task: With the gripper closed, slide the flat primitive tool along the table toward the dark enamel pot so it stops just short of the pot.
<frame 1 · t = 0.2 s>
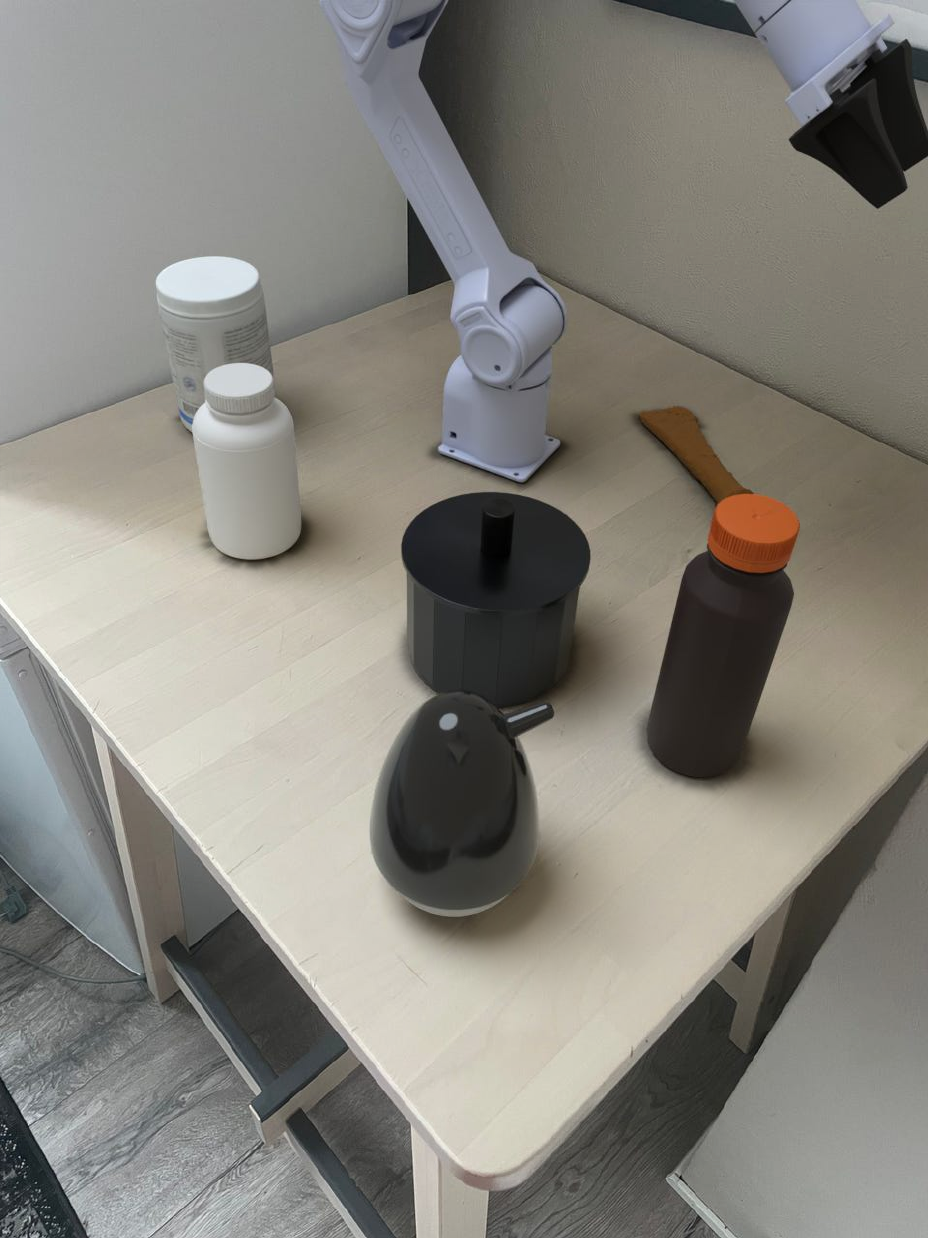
hand: (906, 179, 69), 31 cm above the table, tool tilted 45°, fingers open, 7 cm apart
pot lid: (495, 552, 73), point 9 cm above the table, touching pot
bottle: (692, 744, 73), on the table
primitive tool: (691, 466, 99), on the table
pot: (488, 648, 79), on the table
supplement tub: (229, 419, 102), on the table
pill bottle: (256, 535, 89), on the table
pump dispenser: (454, 871, 65), on the table
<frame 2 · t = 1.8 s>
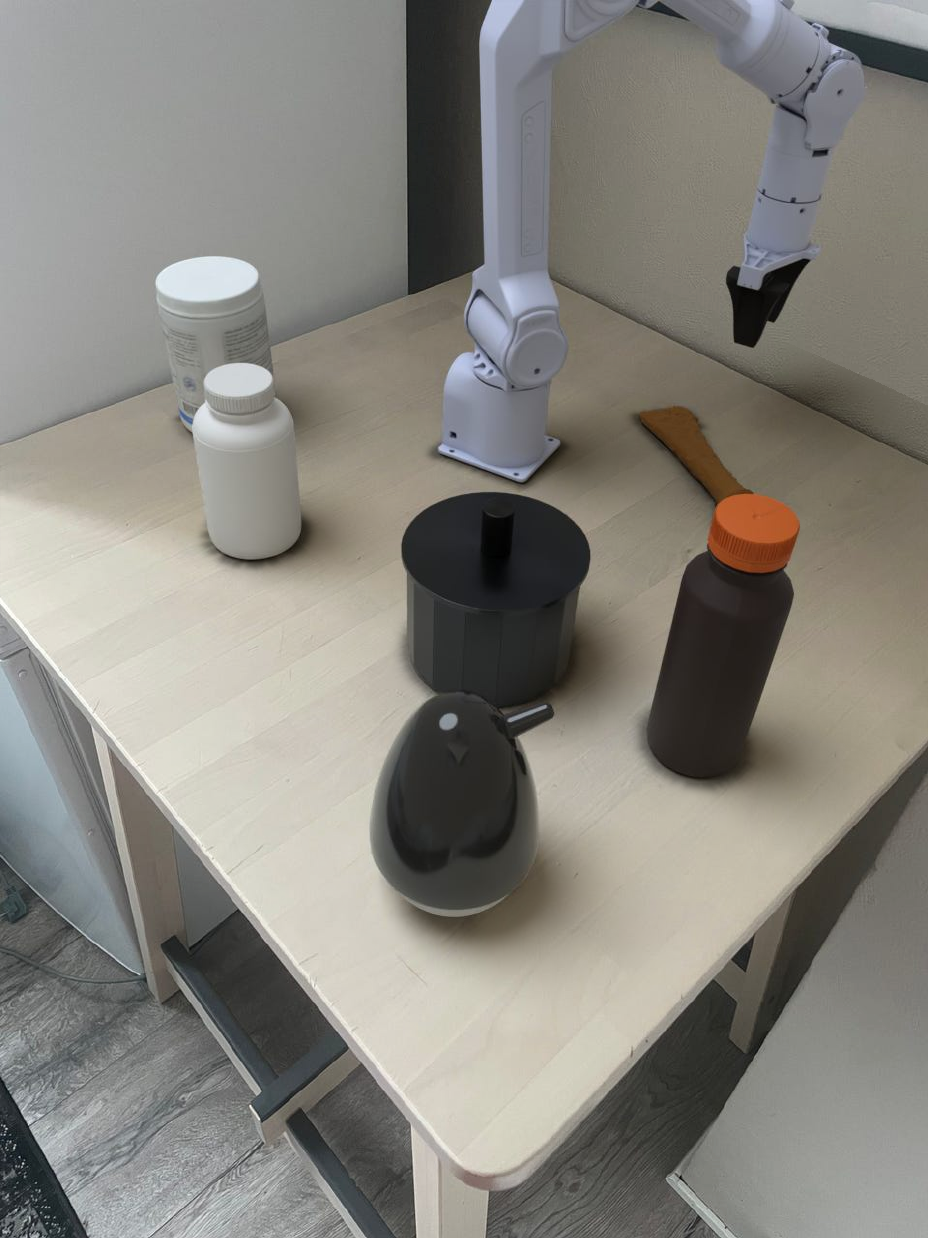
hand: (755, 331, 102), 8 cm above the table, tool pointing down, fingers open, 6 cm apart
nothing on the table moved.
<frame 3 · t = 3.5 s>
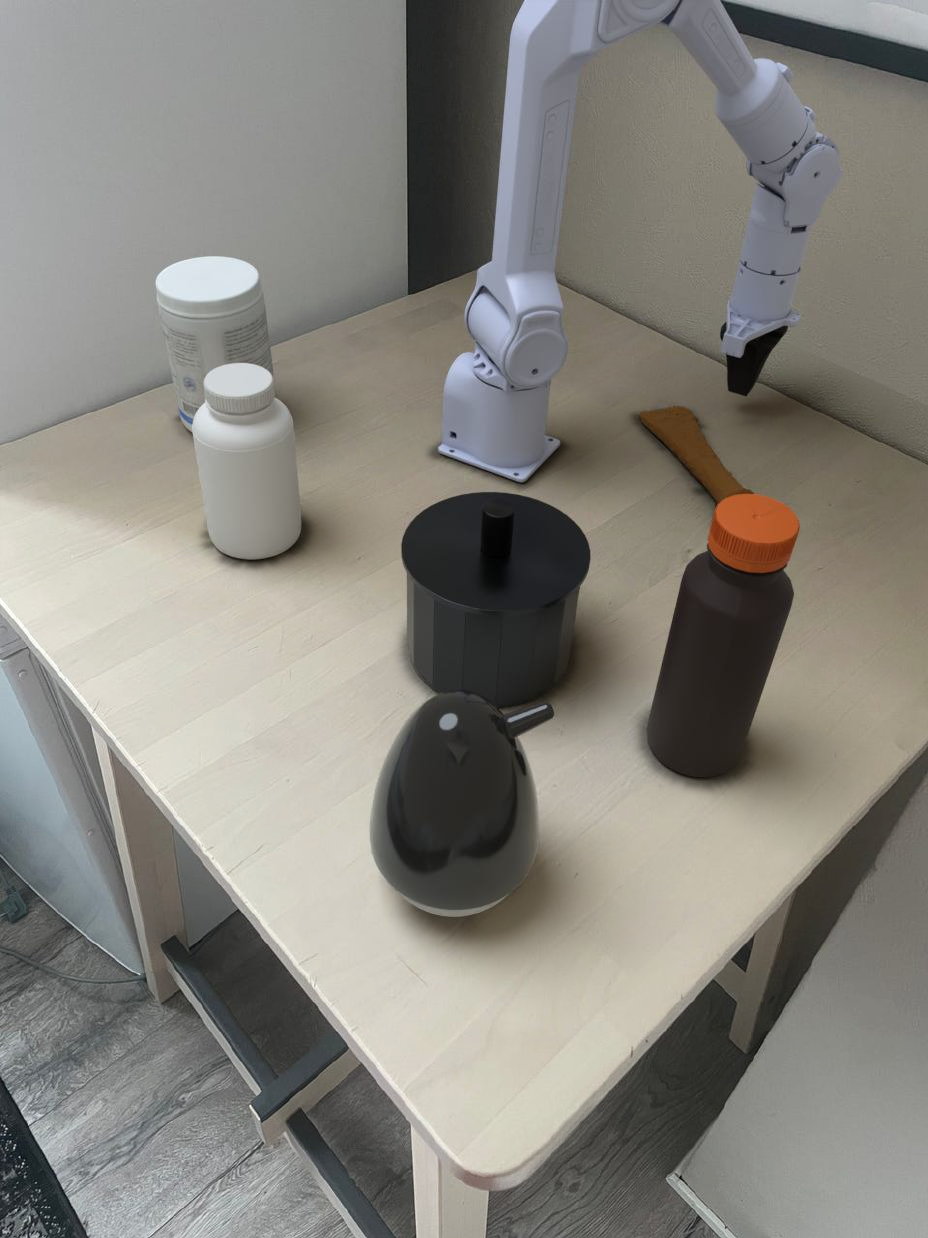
hand: (739, 390, 106), 2 cm above the table, tool pointing down, fingers closed
nothing on the table moved.
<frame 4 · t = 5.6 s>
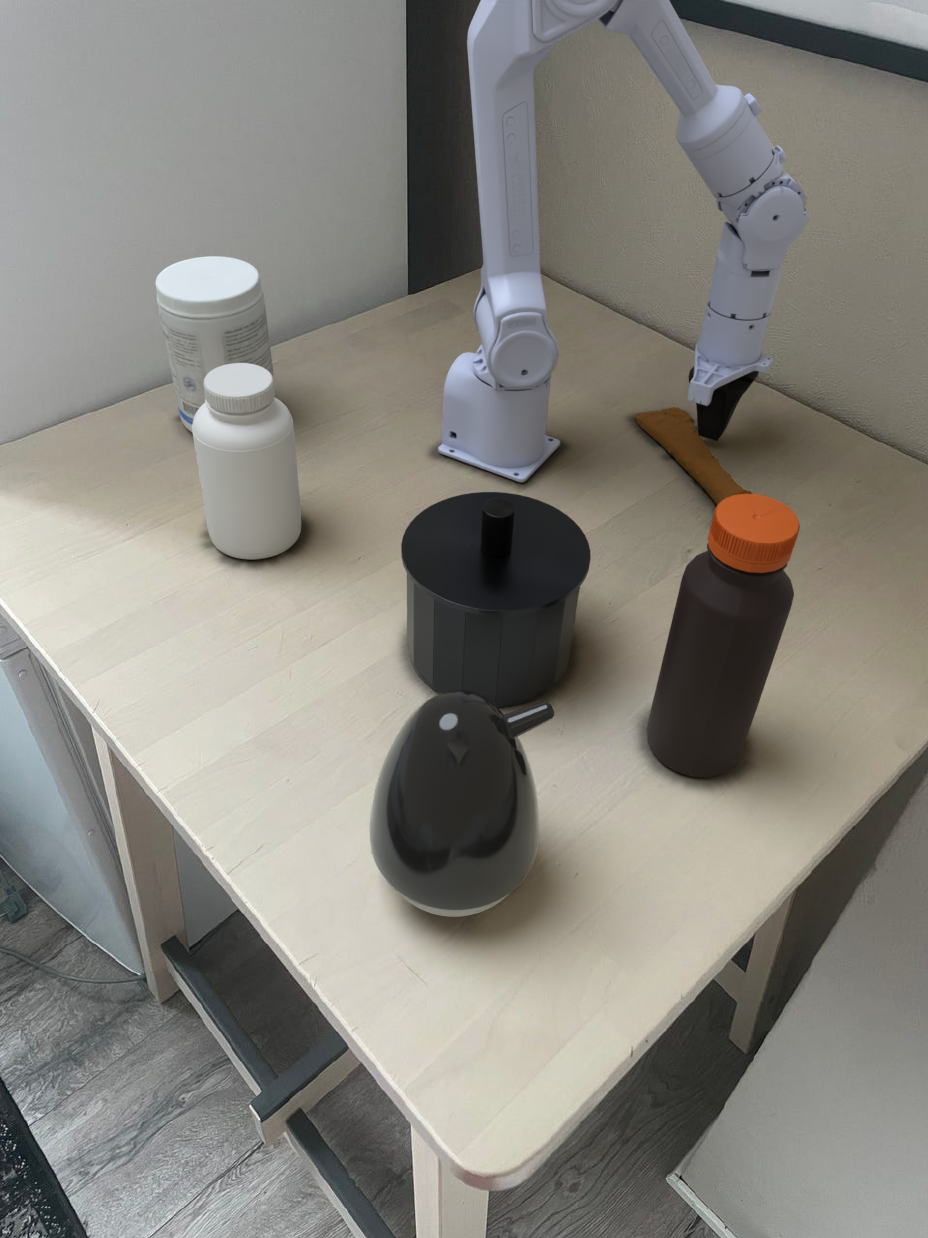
hand: (709, 435, 101), 1 cm above the table, tool pointing down, fingers closed
primitive tool: (688, 467, 99), on the table, touching gripper
everything else where it was.
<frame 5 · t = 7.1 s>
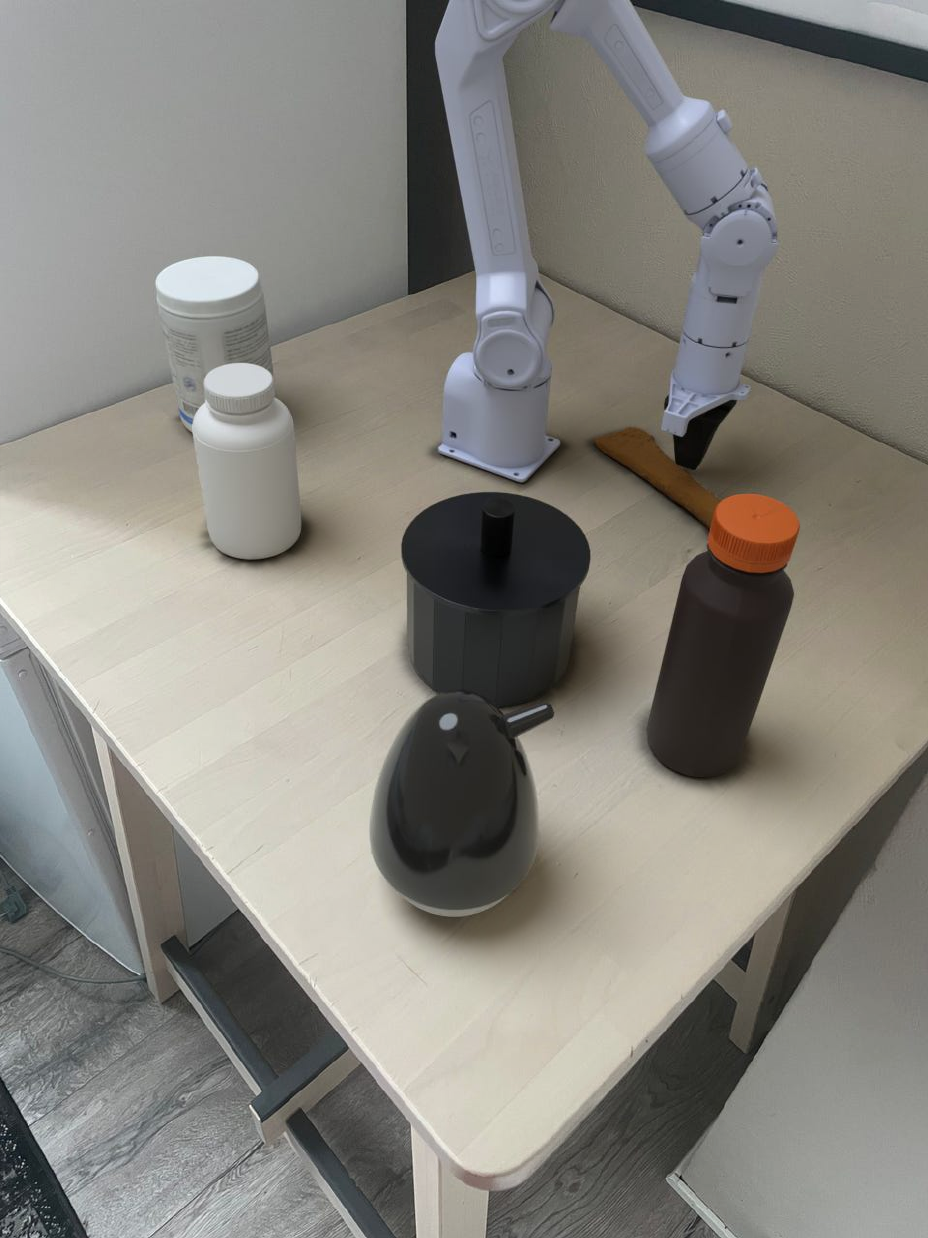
hand: (687, 464, 97), 1 cm above the table, tool pointing down, fingers closed
primitive tool: (663, 489, 96), on the table, touching gripper
everything else where it was.
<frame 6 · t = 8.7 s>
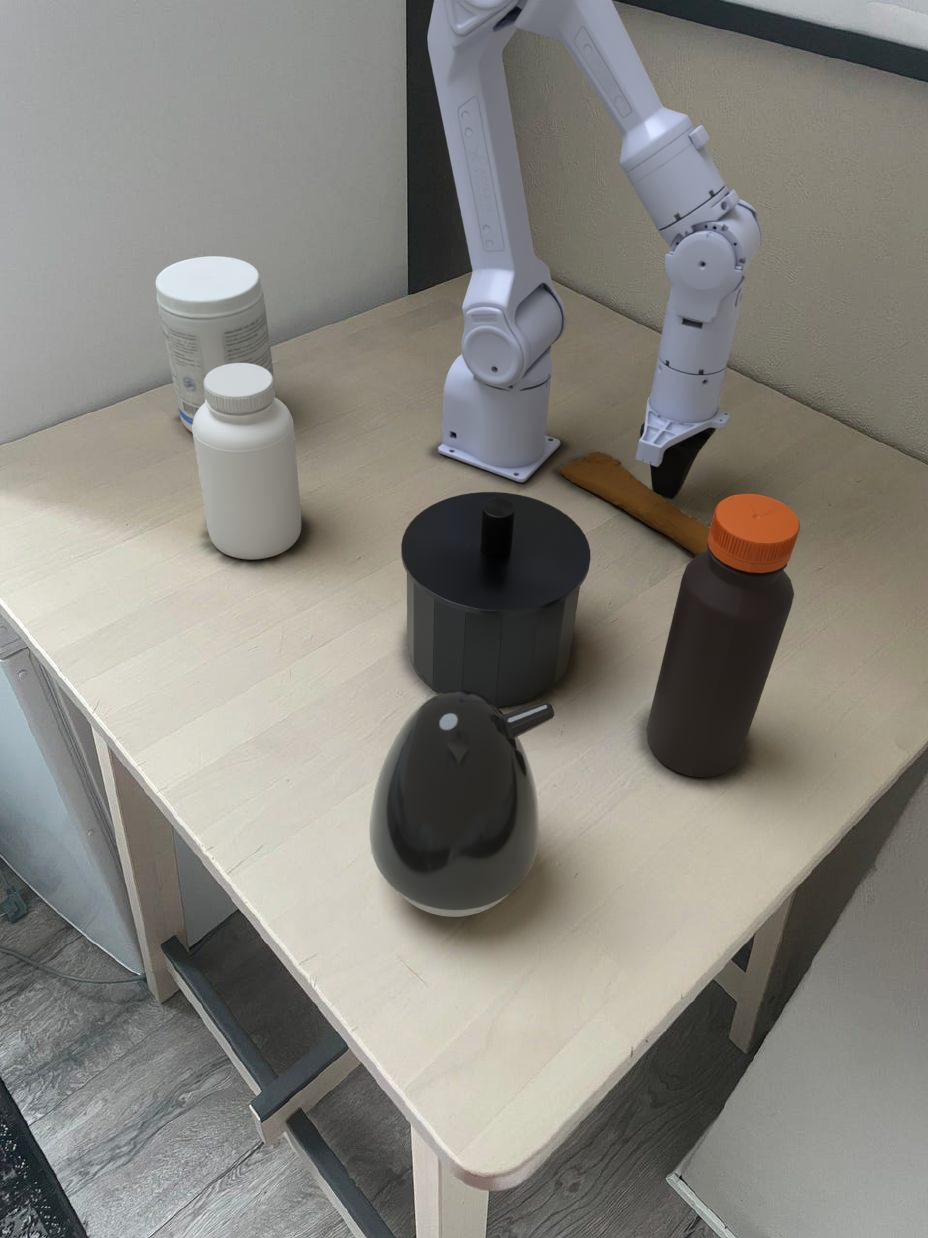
hand: (665, 492, 94), 1 cm above the table, tool pointing down, fingers closed
primitive tool: (639, 516, 93), on the table, touching gripper
everything else where it was.
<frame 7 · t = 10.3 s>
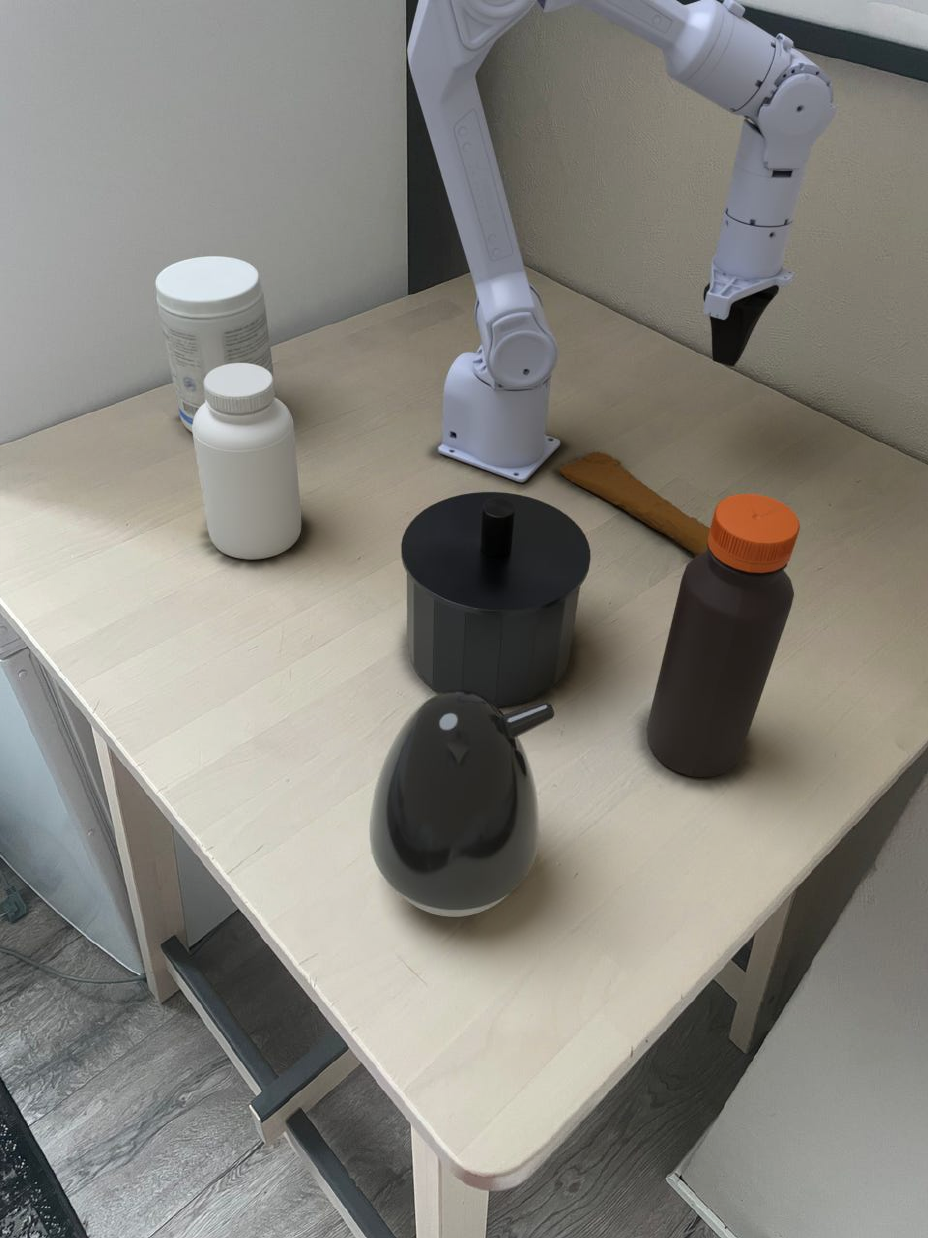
hand: (725, 360, 95), 9 cm above the table, tool pointing down, fingers closed
primitive tool: (639, 516, 93), on the table
everything else where it was.
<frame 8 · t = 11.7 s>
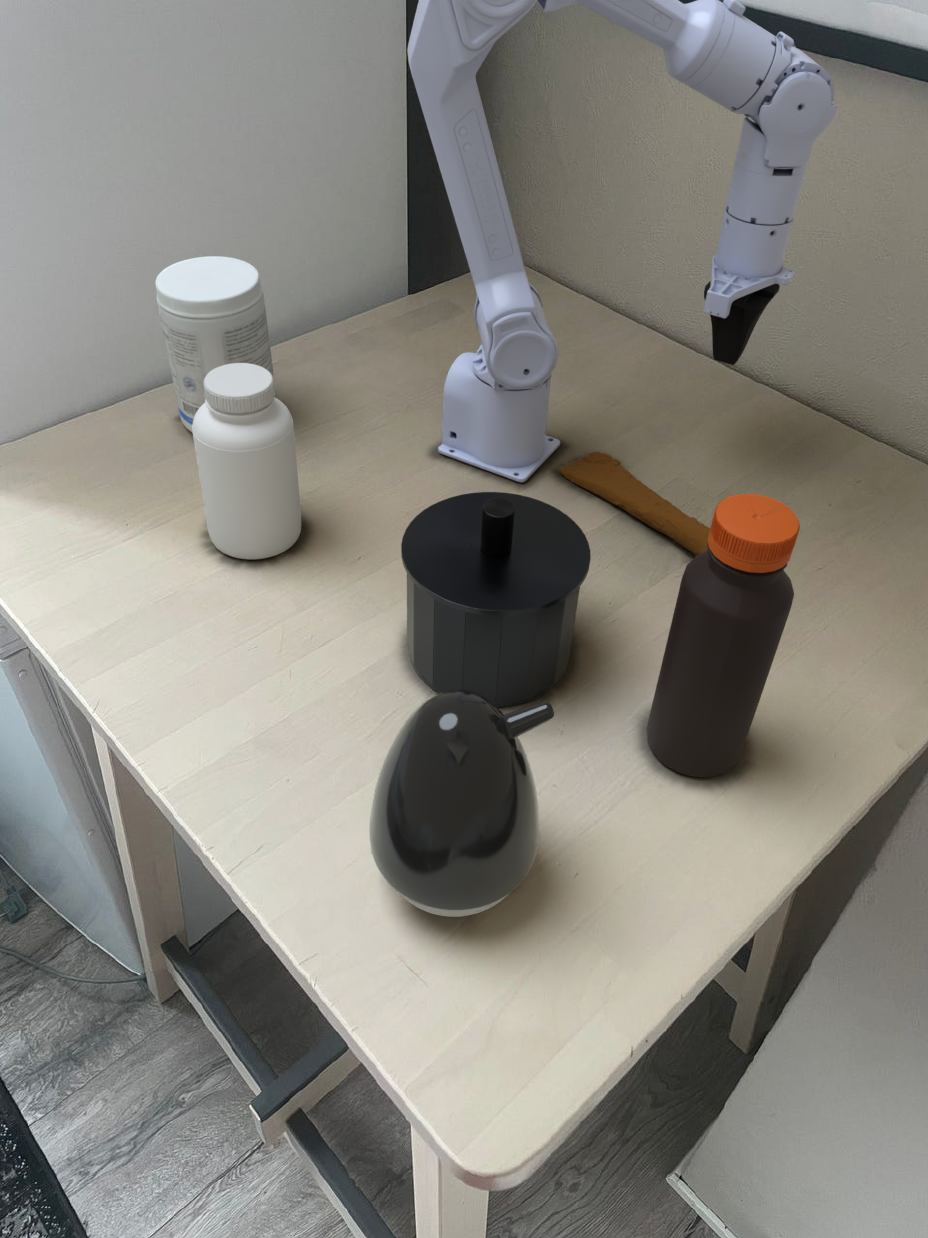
hand: (725, 359, 95), 9 cm above the table, tool pointing down, fingers closed
nothing on the table moved.
at the end: primitive tool moved 10.2 cm from its start; primitive tool 22.5 cm from the pot (horizontally); primitive tool tilted 0° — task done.
